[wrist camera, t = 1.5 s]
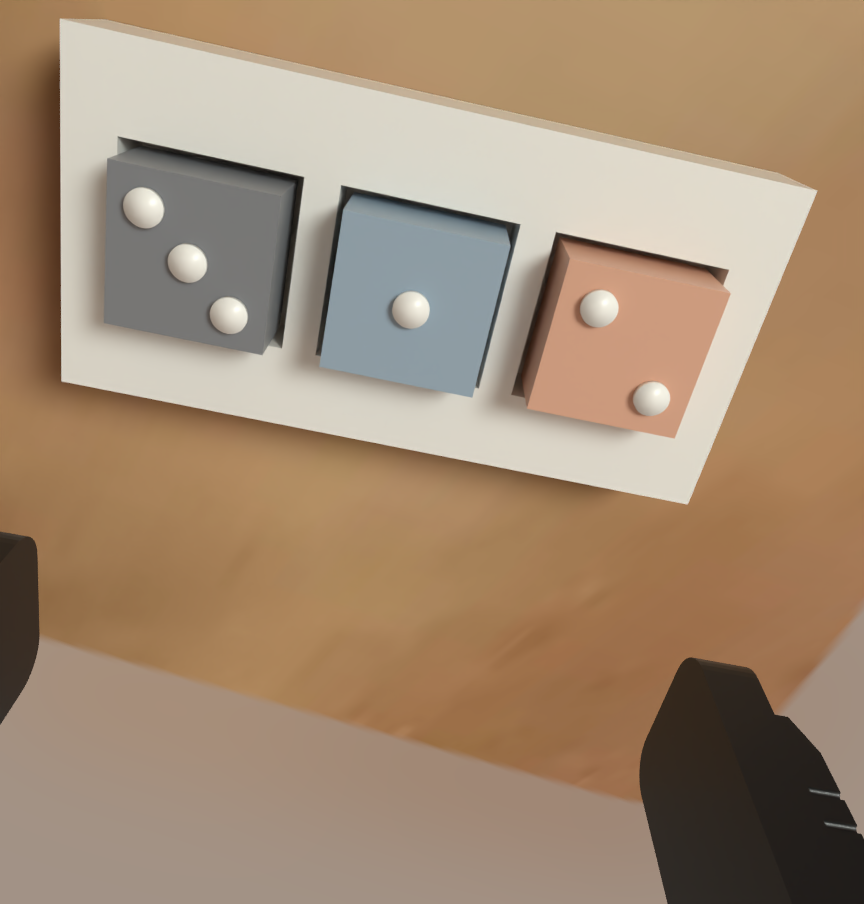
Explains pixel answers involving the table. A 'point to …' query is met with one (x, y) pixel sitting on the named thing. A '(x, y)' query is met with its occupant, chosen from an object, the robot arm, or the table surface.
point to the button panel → (422, 184)
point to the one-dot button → (413, 294)
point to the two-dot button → (621, 337)
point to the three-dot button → (196, 248)
